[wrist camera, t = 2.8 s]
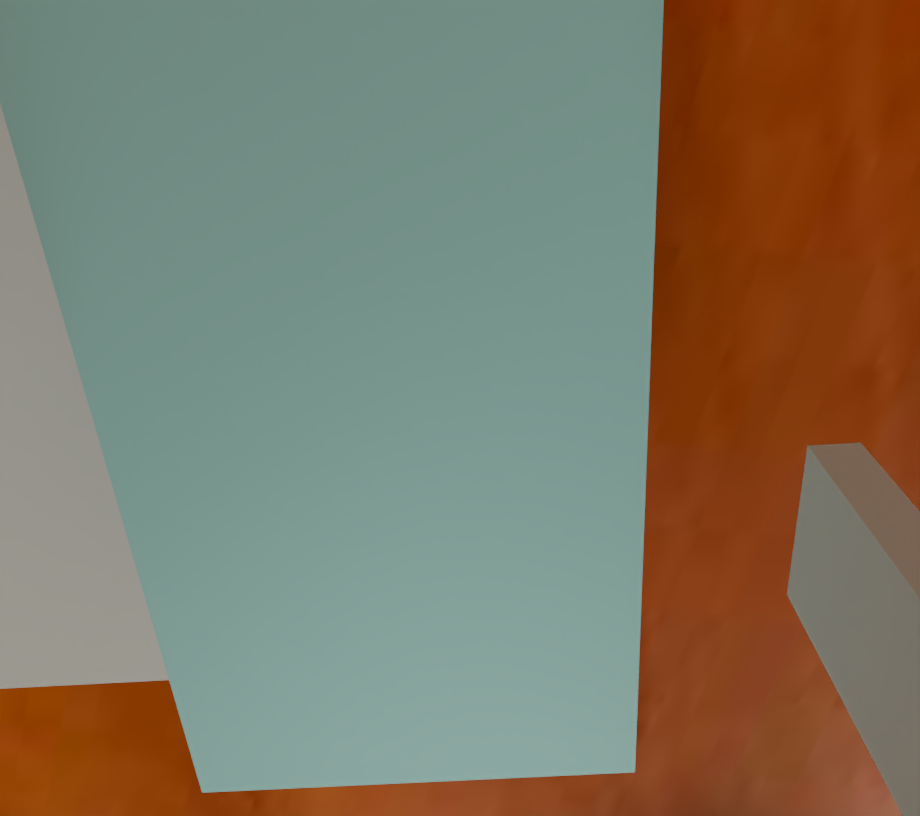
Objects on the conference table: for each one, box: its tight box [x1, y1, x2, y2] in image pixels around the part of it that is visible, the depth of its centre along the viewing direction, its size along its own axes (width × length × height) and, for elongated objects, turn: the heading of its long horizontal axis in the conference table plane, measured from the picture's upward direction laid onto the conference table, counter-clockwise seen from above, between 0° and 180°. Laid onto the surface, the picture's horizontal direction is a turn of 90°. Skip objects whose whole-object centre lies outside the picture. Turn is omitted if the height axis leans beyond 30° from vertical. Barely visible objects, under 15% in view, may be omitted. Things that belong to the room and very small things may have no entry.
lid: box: [0, 0, 664, 793], centre depth 16 cm, size 10×17×2 cm, turn 4°
